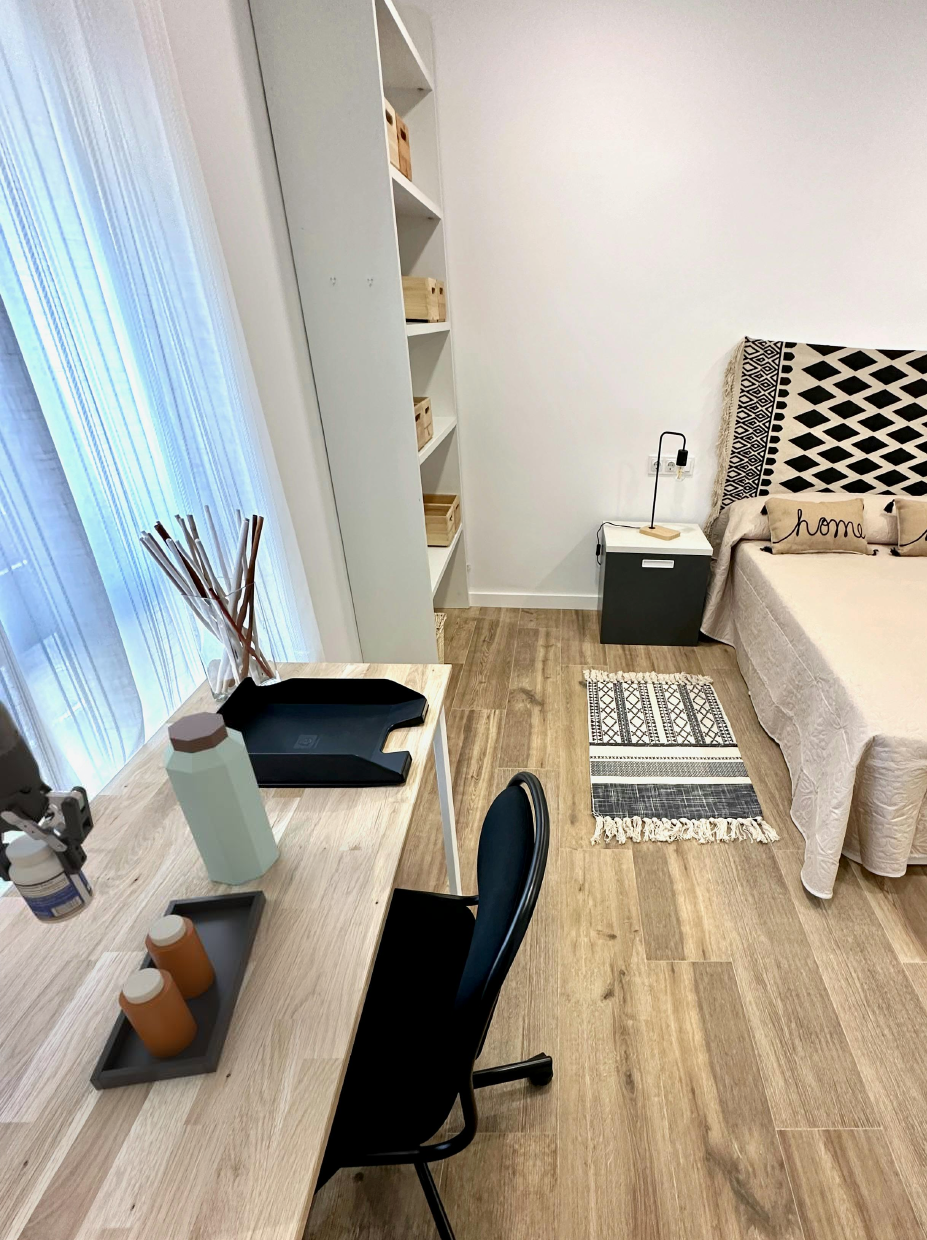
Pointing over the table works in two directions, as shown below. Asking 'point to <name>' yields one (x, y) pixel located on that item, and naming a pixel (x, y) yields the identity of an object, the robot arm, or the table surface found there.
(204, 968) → the amber bottle mid
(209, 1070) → the tray
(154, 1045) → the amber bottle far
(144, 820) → the table surface
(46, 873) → the pill bottle
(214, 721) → the water bottle
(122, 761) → the table surface
